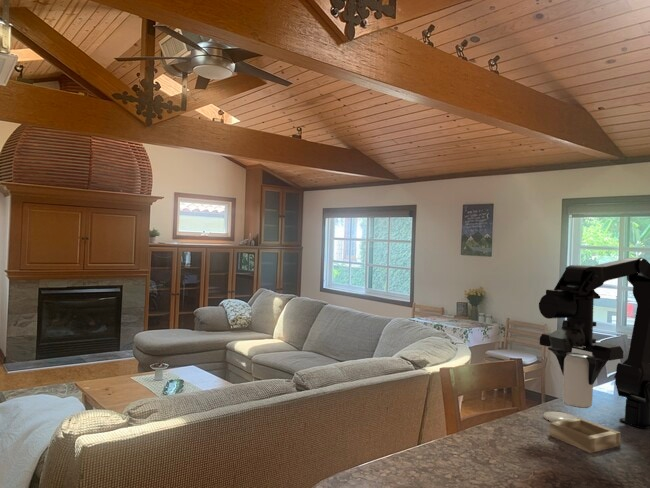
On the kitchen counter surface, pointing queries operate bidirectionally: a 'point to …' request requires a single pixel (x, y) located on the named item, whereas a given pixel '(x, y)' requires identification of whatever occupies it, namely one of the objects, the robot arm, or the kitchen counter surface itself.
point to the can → (577, 381)
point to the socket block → (592, 441)
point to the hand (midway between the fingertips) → (578, 380)
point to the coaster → (557, 416)
